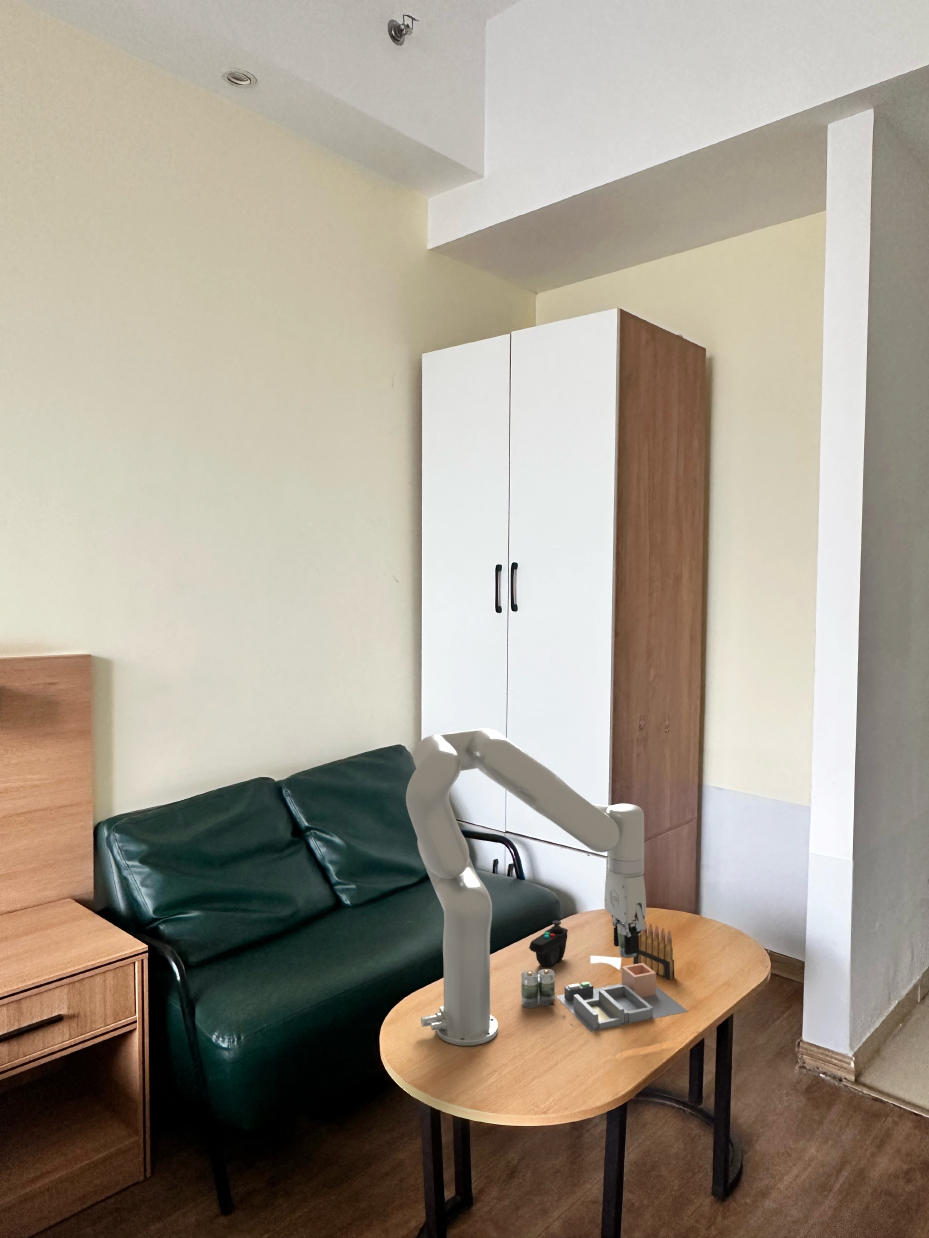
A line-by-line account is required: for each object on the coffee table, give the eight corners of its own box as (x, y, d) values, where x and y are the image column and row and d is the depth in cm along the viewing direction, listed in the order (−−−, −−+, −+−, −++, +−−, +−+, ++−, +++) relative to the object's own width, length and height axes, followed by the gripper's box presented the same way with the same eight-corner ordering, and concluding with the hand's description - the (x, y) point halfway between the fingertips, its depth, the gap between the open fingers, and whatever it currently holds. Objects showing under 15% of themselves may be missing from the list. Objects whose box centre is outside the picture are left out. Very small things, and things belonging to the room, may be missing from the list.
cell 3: (624, 959, 186) (622, 926, 185) (615, 952, 189) (613, 920, 188) (639, 955, 187) (637, 922, 186) (630, 948, 190) (628, 916, 190)
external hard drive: (623, 964, 213) (622, 988, 200) (588, 961, 214) (585, 985, 202) (623, 957, 213) (622, 981, 200) (588, 955, 214) (585, 978, 202)
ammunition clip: (632, 968, 209) (633, 918, 209) (637, 965, 210) (638, 916, 210) (669, 984, 201) (670, 932, 200) (674, 981, 202) (675, 930, 202)
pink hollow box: (634, 998, 192) (634, 976, 192) (621, 987, 197) (621, 966, 197) (655, 994, 194) (655, 972, 194) (642, 983, 199) (642, 962, 199)
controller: (570, 960, 213) (570, 920, 213) (542, 979, 204) (542, 937, 203) (555, 956, 216) (555, 915, 215) (526, 974, 206) (526, 932, 206)
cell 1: (525, 1009, 190) (525, 977, 190) (518, 1001, 193) (518, 969, 193) (541, 1006, 191) (540, 974, 191) (534, 998, 195) (533, 967, 194)
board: (590, 1036, 179) (590, 1016, 179) (555, 1000, 194) (555, 982, 194) (688, 1015, 187) (688, 997, 186) (647, 982, 202) (647, 965, 202)
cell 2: (542, 1007, 191) (542, 975, 190) (535, 999, 194) (535, 968, 194) (557, 1004, 192) (557, 972, 192) (550, 996, 195) (550, 965, 195)
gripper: (591, 854, 193) (591, 936, 194) (630, 879, 178) (631, 968, 179) (621, 850, 196) (621, 931, 197) (663, 874, 180) (663, 962, 181)
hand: (626, 948), depth 188 cm, fingers closed on cell 3, 3 cm apart
